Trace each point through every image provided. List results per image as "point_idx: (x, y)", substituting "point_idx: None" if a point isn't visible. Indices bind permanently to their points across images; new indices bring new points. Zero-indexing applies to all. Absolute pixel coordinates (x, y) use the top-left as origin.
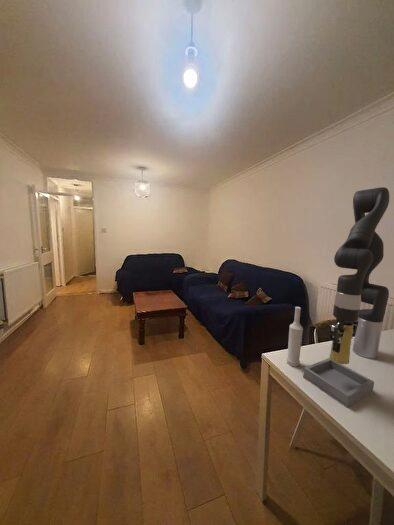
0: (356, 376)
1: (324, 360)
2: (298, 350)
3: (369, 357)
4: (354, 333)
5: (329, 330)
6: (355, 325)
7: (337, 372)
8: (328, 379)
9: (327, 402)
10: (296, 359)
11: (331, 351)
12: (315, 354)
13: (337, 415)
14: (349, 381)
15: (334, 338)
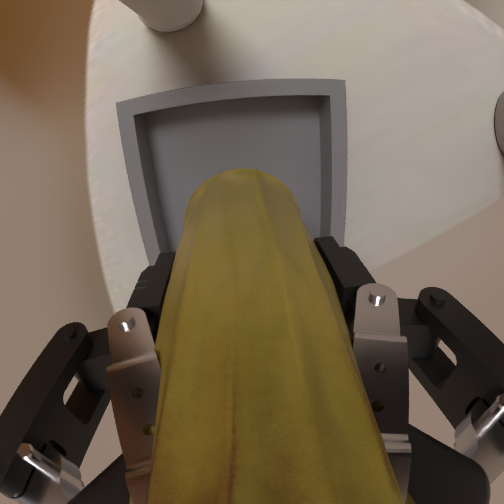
0: (327, 218)
1: (291, 82)
2: (144, 6)
3: (502, 149)
4: (420, 369)
5: (3, 417)
6: (456, 447)
7: (308, 139)
8: (217, 158)
9: (122, 235)
10: (154, 21)
11: (188, 216)
12: (356, 3)
13: (115, 277)
14: (296, 199)
15: (82, 382)
